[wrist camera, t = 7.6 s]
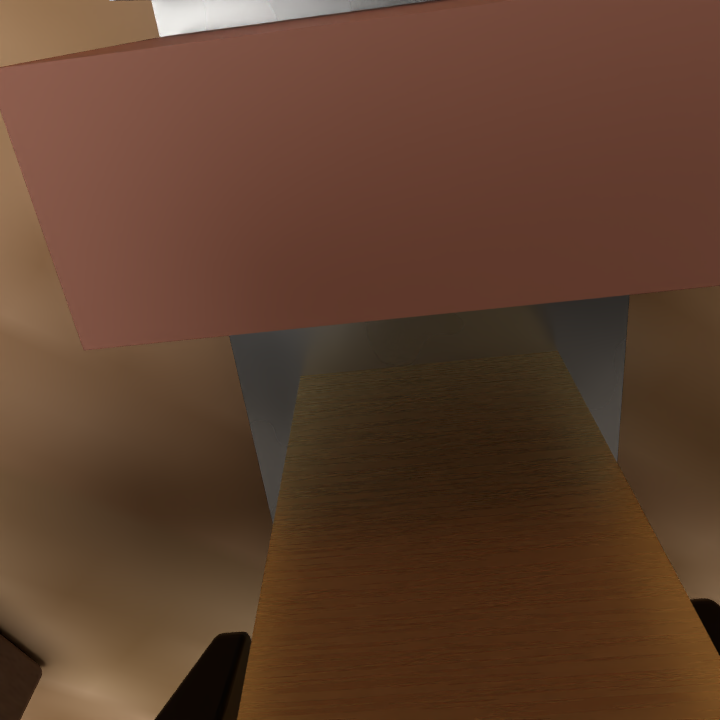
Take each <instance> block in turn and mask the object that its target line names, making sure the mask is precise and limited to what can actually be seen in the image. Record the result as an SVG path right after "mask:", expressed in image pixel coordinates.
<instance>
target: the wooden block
mask: <svg viewBox="0 0 720 720" xmlns="http://www.w3.org/2000/svg"><path fill="white" fill-rule="evenodd" d="M41 676H42V670H41V667H40V665H38V664H37V663H36V662H35V661H33V660H32V659H31V658H30V657H28V656H27V655H26V654H24V653H23V652H22V651H21V650H19V649H18V648H17V647H16V646H14V645H13V644H12V643H11V642H9V641H8V640H7V639H6V638H4V637H3V636H2V635H1V634H0V720H20V719H21V717H22V715H23V713H24V711H25V709H26V707H27V705H28V703H29V701H30V699H31V697H32V694H33V692H34V690H35V688H36V686H37V684H38V682H39V680H40V678H41Z"/></svg>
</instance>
